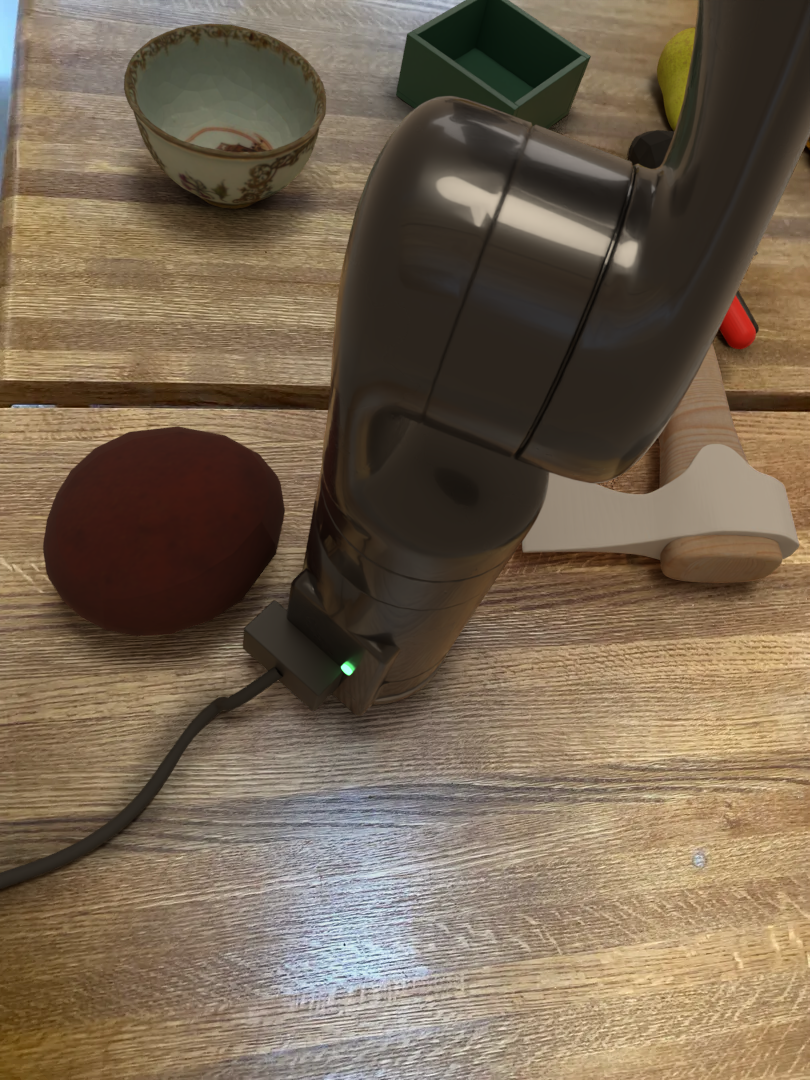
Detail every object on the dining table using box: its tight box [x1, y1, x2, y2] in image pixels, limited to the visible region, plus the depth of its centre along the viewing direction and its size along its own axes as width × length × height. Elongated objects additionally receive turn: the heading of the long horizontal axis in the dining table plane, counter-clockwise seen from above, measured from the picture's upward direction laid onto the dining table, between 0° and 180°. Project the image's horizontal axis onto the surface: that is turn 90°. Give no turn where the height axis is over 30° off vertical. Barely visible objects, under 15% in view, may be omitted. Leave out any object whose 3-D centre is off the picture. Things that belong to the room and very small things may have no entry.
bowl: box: [123, 23, 327, 210], centre depth 62 cm, size 14×13×8 cm
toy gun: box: [719, 250, 760, 350], centre depth 63 cm, size 10×12×5 cm
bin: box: [395, 0, 591, 129], centre depth 73 cm, size 11×11×6 cm
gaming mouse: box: [628, 129, 675, 169], centre depth 72 cm, size 6×15×4 cm, turn 7°
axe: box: [521, 343, 800, 584], centre depth 61 cm, size 18×5×30 cm
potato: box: [42, 425, 286, 637], centre depth 46 cm, size 11×13×10 cm
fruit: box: [656, 26, 696, 131], centre depth 78 cm, size 6×6×12 cm
